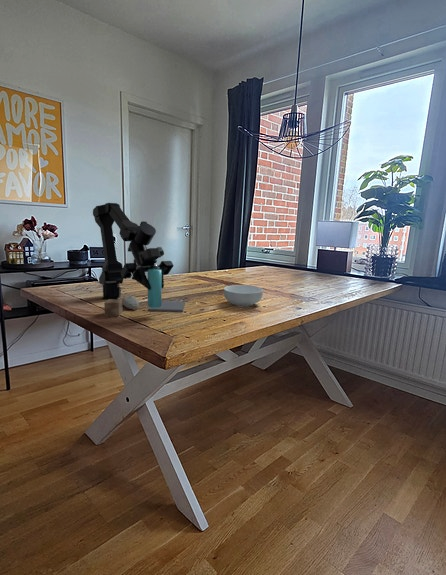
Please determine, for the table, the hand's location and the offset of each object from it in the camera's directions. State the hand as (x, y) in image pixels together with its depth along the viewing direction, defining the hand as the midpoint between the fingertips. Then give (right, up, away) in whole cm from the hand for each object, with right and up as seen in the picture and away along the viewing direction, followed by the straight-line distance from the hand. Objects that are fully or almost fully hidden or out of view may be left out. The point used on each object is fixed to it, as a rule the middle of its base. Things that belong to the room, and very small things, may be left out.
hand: (156, 288), depth 115 cm
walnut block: (-16, -9, +4) cm, 20 cm away
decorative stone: (-14, -7, +17) cm, 23 cm away
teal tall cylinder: (-1, -6, +2) cm, 7 cm away
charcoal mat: (+1, -8, +17) cm, 19 cm away
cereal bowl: (+32, -7, +26) cm, 42 cm away
